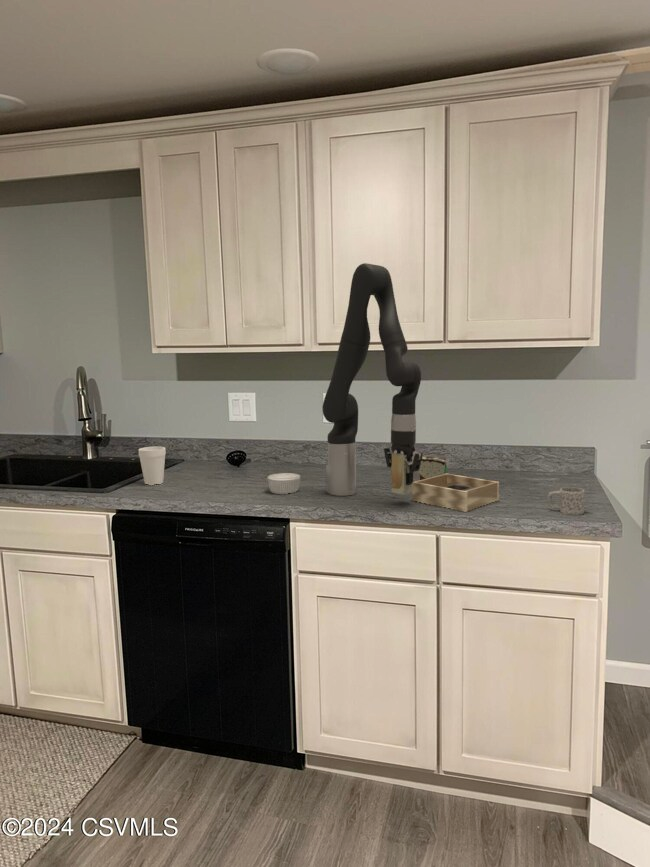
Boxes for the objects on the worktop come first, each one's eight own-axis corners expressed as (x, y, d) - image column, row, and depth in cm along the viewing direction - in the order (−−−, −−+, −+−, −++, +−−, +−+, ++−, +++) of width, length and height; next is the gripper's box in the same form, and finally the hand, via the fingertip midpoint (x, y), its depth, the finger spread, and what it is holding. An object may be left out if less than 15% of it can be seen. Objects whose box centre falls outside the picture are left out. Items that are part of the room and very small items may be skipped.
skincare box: (402, 488, 211) (402, 450, 209) (413, 491, 209) (414, 452, 207) (390, 492, 206) (390, 453, 205) (402, 495, 204) (402, 455, 202)
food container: (456, 485, 232) (456, 457, 230) (446, 489, 227) (446, 460, 226) (425, 481, 240) (425, 453, 238) (416, 484, 235) (416, 456, 234)
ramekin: (283, 496, 221) (282, 481, 221) (261, 492, 229) (260, 476, 228) (307, 490, 229) (307, 475, 229) (285, 486, 237) (284, 471, 236)
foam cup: (172, 482, 246) (170, 447, 244) (152, 487, 239) (150, 451, 237) (155, 479, 252) (153, 445, 250) (135, 484, 244) (133, 449, 242)
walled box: (412, 500, 212) (411, 482, 211) (446, 491, 224) (446, 473, 223) (465, 512, 198) (465, 492, 197) (498, 500, 210) (499, 482, 209)
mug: (583, 509, 198) (584, 487, 197) (584, 515, 192) (585, 492, 191) (547, 507, 201) (548, 485, 200) (547, 513, 195) (547, 490, 194)
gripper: (377, 427, 207) (377, 481, 210) (413, 432, 197) (412, 489, 199) (393, 424, 212) (392, 477, 215) (429, 429, 202) (428, 485, 204)
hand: (402, 482), depth 207 cm, fingers closed on skincare box, 4 cm apart
